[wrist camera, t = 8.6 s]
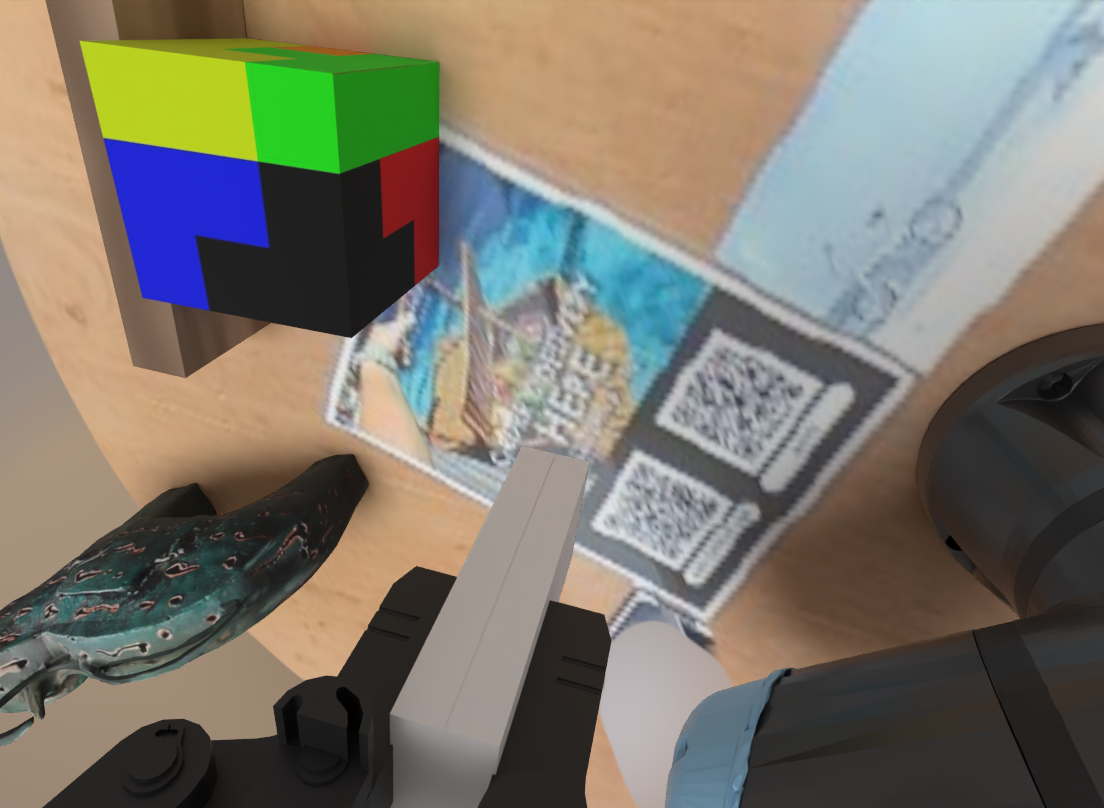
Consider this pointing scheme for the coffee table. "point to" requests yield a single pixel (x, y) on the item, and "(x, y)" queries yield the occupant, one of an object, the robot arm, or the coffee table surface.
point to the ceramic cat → (170, 587)
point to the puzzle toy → (272, 175)
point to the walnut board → (150, 326)
